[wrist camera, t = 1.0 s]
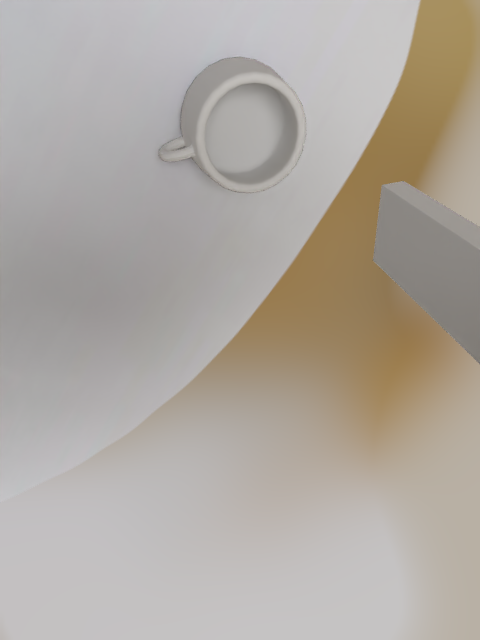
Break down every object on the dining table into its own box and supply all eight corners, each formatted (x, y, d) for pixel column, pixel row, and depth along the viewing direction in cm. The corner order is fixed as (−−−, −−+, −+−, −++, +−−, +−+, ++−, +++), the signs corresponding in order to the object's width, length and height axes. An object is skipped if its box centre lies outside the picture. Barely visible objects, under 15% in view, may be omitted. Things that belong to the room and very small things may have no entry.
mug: (278, 40, 35) (304, 45, 30) (296, 159, 41) (320, 179, 36) (134, 84, 34) (137, 96, 30) (173, 198, 40) (182, 224, 35)
